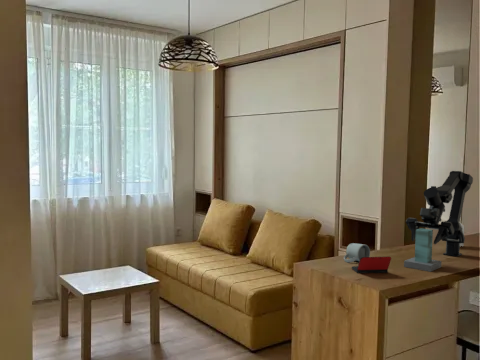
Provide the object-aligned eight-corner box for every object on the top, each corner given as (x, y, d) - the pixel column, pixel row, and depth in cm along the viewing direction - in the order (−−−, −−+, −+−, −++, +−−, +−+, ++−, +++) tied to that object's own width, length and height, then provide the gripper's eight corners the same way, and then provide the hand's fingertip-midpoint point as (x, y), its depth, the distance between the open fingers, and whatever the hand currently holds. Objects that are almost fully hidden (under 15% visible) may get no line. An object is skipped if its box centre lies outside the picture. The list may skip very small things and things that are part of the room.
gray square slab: (415, 262, 199) (415, 256, 199) (441, 267, 191) (441, 261, 191) (403, 266, 191) (404, 260, 191) (430, 271, 183) (430, 265, 183)
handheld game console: (380, 268, 189) (380, 250, 188) (391, 275, 178) (392, 256, 178) (350, 269, 188) (351, 250, 187) (360, 276, 177) (360, 257, 176)
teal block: (419, 258, 195) (420, 228, 194) (431, 261, 191) (432, 229, 190) (414, 260, 191) (415, 229, 190) (426, 263, 187) (427, 231, 187)
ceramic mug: (356, 257, 207) (356, 240, 206) (370, 261, 200) (370, 243, 200) (339, 260, 201) (339, 243, 201) (353, 264, 194) (353, 246, 194)
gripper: (408, 199, 200) (395, 227, 192) (452, 202, 186) (441, 233, 179) (415, 215, 206) (403, 243, 199) (459, 220, 193) (448, 250, 185)
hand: (423, 242), depth 190 cm, fingers open, 9 cm apart
